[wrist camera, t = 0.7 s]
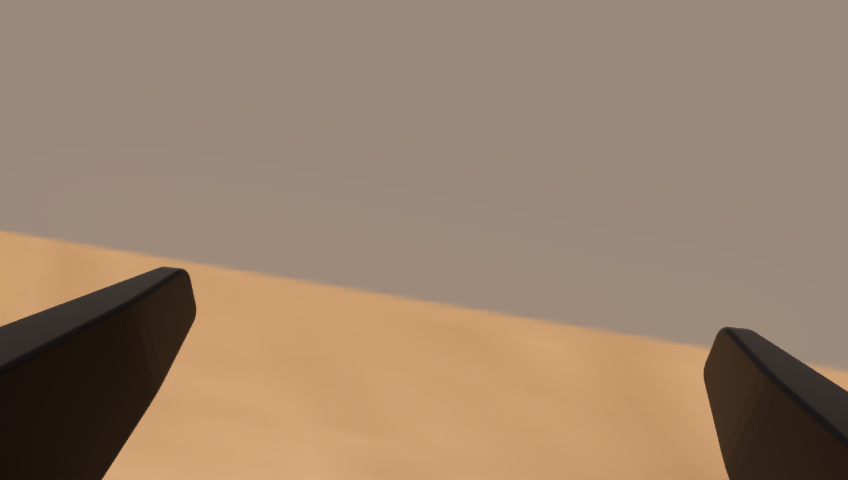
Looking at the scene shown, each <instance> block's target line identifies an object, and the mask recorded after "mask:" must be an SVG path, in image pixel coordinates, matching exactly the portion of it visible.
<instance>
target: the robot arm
mask: <svg viewBox="0 0 848 480" xmlns="http://www.w3.org/2000/svg"><path fill="white" fill-rule="evenodd" d="M195 316H196V303H195V299H194V294H193V289H192V284H191V280H190V276H189V274H188V272H187V271H186V270H184V269H181V268H172V267H160V268H157V269H154V270H152V271H149V272H146V273H144V274H141V275H138V276H136V277H133V278H130V279H128V280H125V281H122V282H119V283H117V284H114V285H111V286H109V287H106V288H103V289H101V290H98V291H95V292H93V293H90V294H87V295H85V296H82V297H79V298H76V299H74V300H71V301H68V302H66V303H63V304H60V305H58V306H55V307H52V308H50V309H47V310H44V311H41V312H39V313H36V314H33V315H31V316H28V317H25V318H23V319H20V320H17V321H15V322H12V323H9V324H7V325H4V326H1V327H0V480H102V479H103V477H104V476H105V474H106V472H107V471H108V469H109V468H110V466H111V465H112V463H113V462H114V460H115V458H116V457H117V455H118V454H119V452H120V451H121V449H122V448H123V446H124V444H125V443H126V441H127V440H128V438H129V437H130V435H131V434H132V432H133V430H134V429H135V427H136V426H137V424H138V423H139V421H140V420H141V418H142V417H143V415H144V413H145V412H146V410H147V409H148V407H149V406H150V404H151V402H152V401H153V399H154V397H155V396H156V394H157V392H158V391H159V389H160V387H161V385H162V383H163V382H164V380H165V378H166V376H167V374H168V372H169V370H170V368H171V366H172V364H173V362H174V360H175V358H176V356H177V354H178V352H179V350H180V348H181V346H182V344H183V342H184V340H185V338H186V336H187V334H188V332H189V330H190V328H191V326H192V324H193V322H194V320H195ZM704 382H705V386H706V390H707V394H708V399H709V403H710V407H711V411H712V415H713V420H714V424H715V428H716V432H717V436H718V441H719V445H720V449H721V453H722V457H723V460H724V464H725V468H726V471H727V474H728V477H729V480H848V391H846V390H844V389H843V388H841V387H840V386H838V385H837V384H835V383H833V382H832V381H830V380H829V379H827V378H826V377H824V376H823V375H821V374H819V373H818V372H816V371H815V370H813V369H812V368H810V367H809V366H807V365H805V364H804V363H802V362H801V361H799V360H798V359H796V358H795V357H793V356H791V355H790V354H788V353H787V352H785V351H784V350H782V349H780V348H779V347H777V346H775V345H774V344H773V343H771V342H770V341H768V340H766V339H765V338H763V337H762V336H760V335H759V334H757V333H756V332H754V331H752V330H749V329H743V328H733V327H724V328H722V329H720V331H719V332H718V334H717V335H716V338H715V341H714V343H713V346H712V348H711V351H710V353H709V356H708V358H707V361H706V363H705V367H704Z"/></svg>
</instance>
